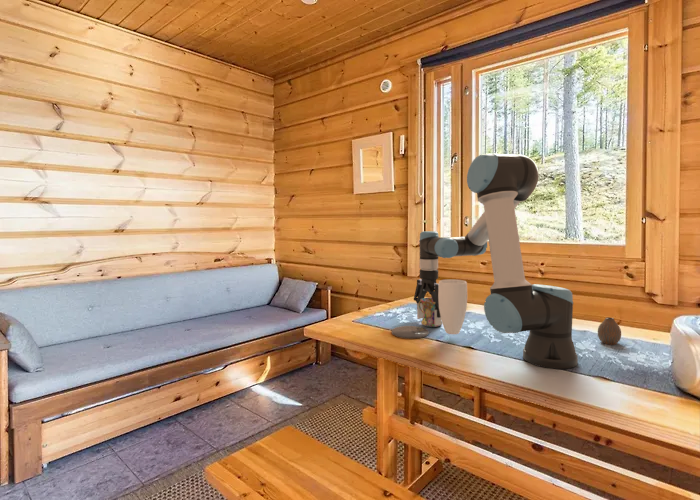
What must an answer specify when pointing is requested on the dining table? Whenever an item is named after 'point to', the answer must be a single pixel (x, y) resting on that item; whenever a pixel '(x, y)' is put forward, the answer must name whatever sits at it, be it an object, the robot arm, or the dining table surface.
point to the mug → (428, 312)
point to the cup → (452, 304)
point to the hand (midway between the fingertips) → (428, 321)
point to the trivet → (410, 332)
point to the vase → (609, 331)
